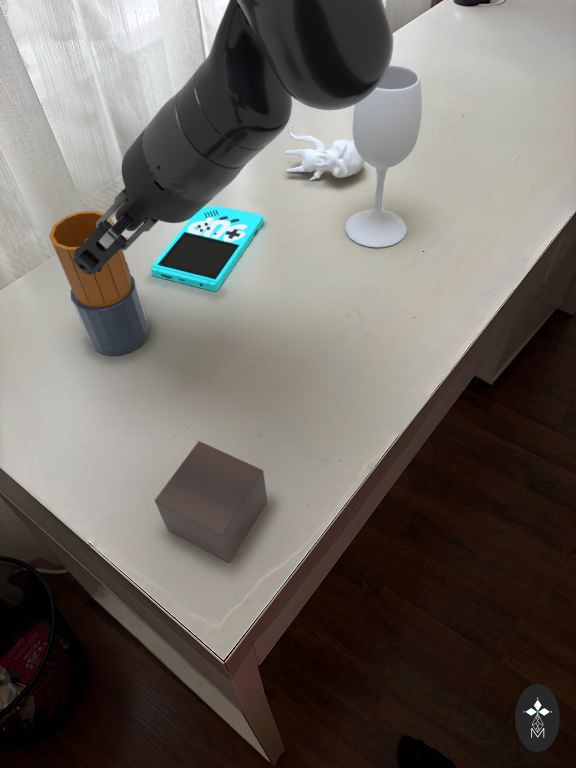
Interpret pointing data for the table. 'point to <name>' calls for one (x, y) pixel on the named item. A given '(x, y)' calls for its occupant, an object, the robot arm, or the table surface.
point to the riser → (213, 500)
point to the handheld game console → (208, 247)
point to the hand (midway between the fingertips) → (107, 240)
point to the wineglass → (385, 148)
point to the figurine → (327, 157)
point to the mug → (115, 324)
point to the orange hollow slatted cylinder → (86, 288)
